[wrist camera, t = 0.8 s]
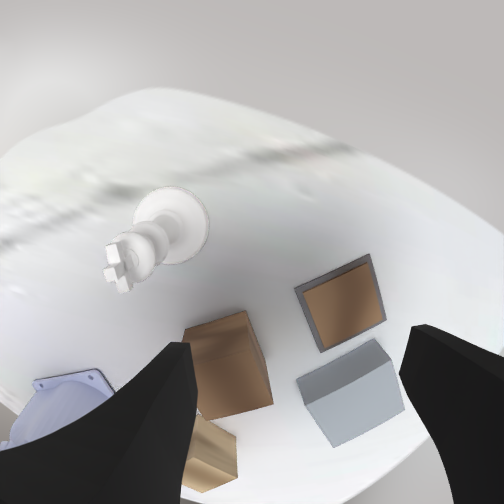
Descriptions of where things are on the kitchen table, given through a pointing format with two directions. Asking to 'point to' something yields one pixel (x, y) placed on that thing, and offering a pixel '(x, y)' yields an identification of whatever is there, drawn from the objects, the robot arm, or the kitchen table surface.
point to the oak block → (210, 457)
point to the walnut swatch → (342, 303)
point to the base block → (352, 393)
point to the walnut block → (228, 367)
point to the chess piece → (157, 236)
